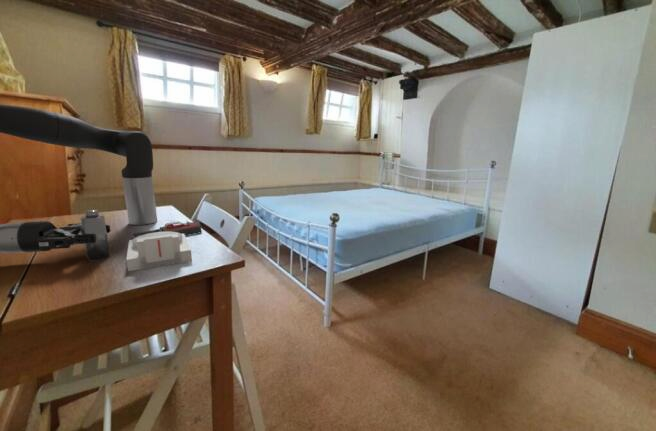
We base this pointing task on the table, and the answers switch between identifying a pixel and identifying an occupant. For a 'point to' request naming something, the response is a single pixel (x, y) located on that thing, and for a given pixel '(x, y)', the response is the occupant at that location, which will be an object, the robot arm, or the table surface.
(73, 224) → the robot arm
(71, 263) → the table surface
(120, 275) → the table surface
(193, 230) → the walkie-talkie
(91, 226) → the steel weight
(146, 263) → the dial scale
